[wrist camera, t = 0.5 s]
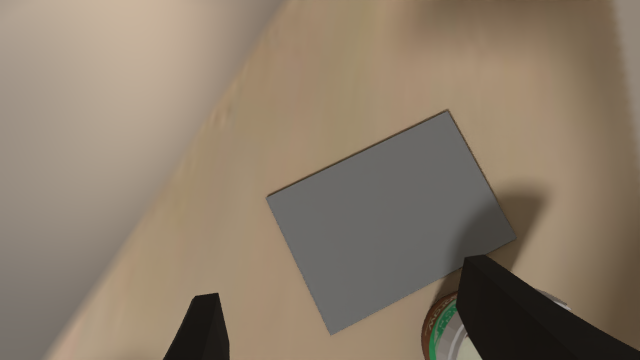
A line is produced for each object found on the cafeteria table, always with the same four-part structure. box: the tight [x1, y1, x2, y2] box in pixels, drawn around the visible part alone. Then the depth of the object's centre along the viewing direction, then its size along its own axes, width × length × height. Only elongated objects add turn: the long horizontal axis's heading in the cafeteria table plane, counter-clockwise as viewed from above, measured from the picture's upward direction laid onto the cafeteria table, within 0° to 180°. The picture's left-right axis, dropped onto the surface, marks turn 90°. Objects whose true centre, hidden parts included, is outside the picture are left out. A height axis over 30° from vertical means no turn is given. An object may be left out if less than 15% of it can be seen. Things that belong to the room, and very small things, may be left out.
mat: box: [266, 111, 517, 335], centre depth 38 cm, size 14×20×1 cm
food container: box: [421, 288, 571, 360], centre depth 32 cm, size 12×6×10 cm, turn 148°
